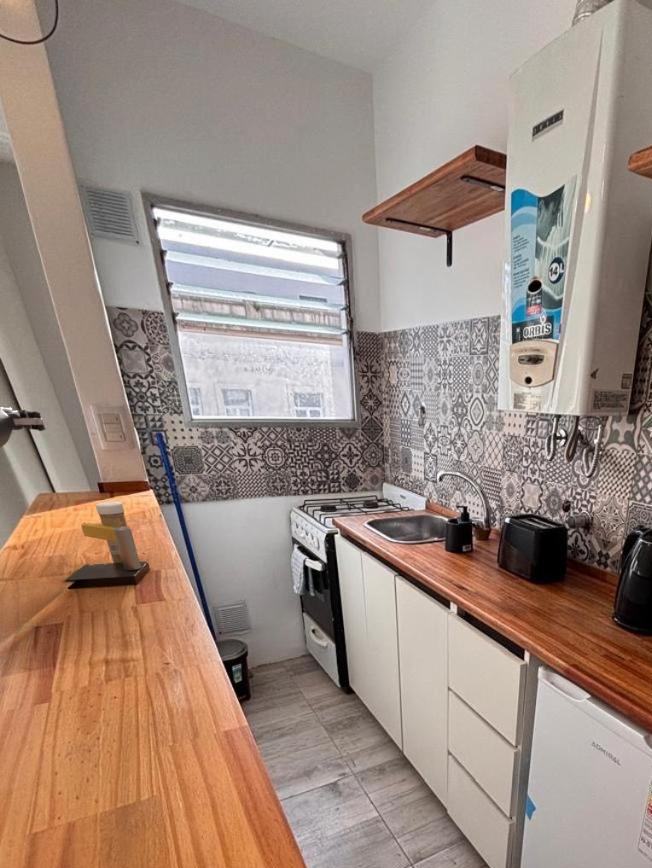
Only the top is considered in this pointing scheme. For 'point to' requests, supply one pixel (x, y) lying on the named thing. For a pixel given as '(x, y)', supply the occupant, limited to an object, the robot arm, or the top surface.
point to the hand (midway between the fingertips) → (21, 417)
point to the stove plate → (106, 575)
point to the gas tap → (118, 535)
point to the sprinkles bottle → (112, 523)
